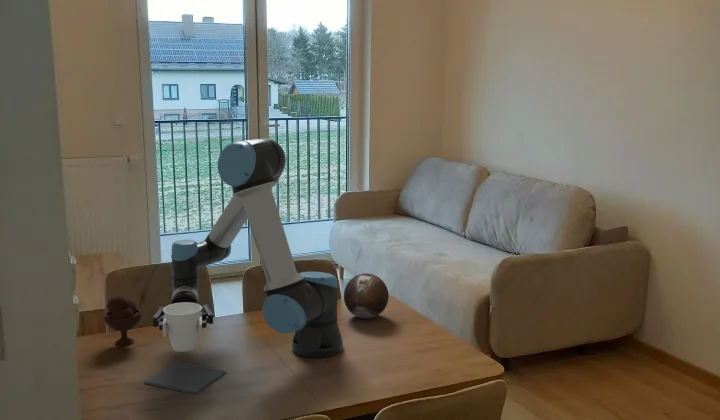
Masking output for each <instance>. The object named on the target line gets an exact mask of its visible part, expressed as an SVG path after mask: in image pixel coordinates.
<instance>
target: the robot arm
mask: <svg viewBox="0 0 720 420" xmlns="http://www.w3.org/2000/svg"><path fill="white" fill-rule="evenodd" d="M286 158H287V156H286V153H285V151H284V149H283V147H282V146H281V144H279V143H278V141H276V140H274V139H270V138H265V137H262V138H261V137H260V138H256V139H247V140H245V139H244V140H239V141H234V142H232V143H229V144H227V145H226V146H225V147H223V149H222V150H221V152H220V154H219V156H218V159H217V172H218V175H219V177H220V179H221V180H222V182H224V183H225V184H226V185H227V186H230V187H231V188H232V192H233V195H232V197H231V198H230V200H229V202H228V203H227V204H226V207H225V208H224V209H223V211H222V213H221V214H220V215H219V217H218V219H217V221H216V222H215V223H214V225H213V227H212V228H211V230H210V231H209V233H208V235H206V238H205V239H204V240H203V241H200V242H197V241H195V240H193V239H180V240H179V239H178V240H176V241H173V243H172V245H171V255H170V257H171V271H172V272H171V273H172V296H171V303H170V305H171V304H175V303H182V302H189V303H196V304H199V292H200V287H199V269H201V268H203V267H207V266H210V265H212V264H215V263H218V262H222V261H224V259H227V258H228V257H230V254H231V253H232V252H231V251H232V244H233V242H234V240H235V239H236V237H237V235H238V234H239V233H240V231H241V229H242V228H243V227H244V225H245V224H246V222H247V221H248V224H249V226H250V231H251V234H252V237H253V240H254V243H255V246H256V249H257V253H258V257H259V259H260V262H261V266H262V269H263V271H264V275H265V279H266V284H265V286H264V287H263V292H264V294H265V298H266V299H265V300H264V302H263V305H262V306H261V308H262V309H261V312H262V313H261V314H262V317H263V320H264V321H265V323H266V325H267V326H268V327H269V328H270V329H272V330H273V331H275V332H276V333H279V334H282V335H289V334H293V337H292V340H291V350H292V352H293V353H295V355H298V356H301V357H306V358H314V359H319V358H328V357H333V356H335V355H337V354H340V353H341V352H342V351H343V350H344V349H343V348H344V346H343V345H344V341H343V337H342V335H341V330H340V328H339V325H338V288H339V287H338V279H337V277H336V275H334V274H332V273H329V272H323V271H302V272H300V273H299V272H298V271H297V268H296V264H295V261H294V258H293V254H292V252H291V248H290V246H289V241H288V238H287V236H286V232H285V228H284V225H283V223H282V219H281V215H280V213H279V209H278V206H277V203H276V199H275V196H274V194H273V188H274V187H275V185H276V184H277V182H279V179H280V178H281V176H282V174H283V173H284V170H285V168H286V163H287V162H286V160H287V159H286ZM165 307H166V306H165ZM165 307H164V306H163V305H159V306H158V310H157V311H156V313H155V314H154V315H153V316H152V327H153V328H157V327H158V330H159V331H162V338H166V337H167V333H168V327H167V323H166V318H165V314H164V312H163V309H164V308H165ZM201 307H202V309H201V313H200V319H199V325H198V335H199V336H202V335H203V328H204V329H205V328H207V324H209V325H213V324H214V314H213V312H212V311H211V309H210V304H209V303H205V304H204V305H202V306H201Z"/></svg>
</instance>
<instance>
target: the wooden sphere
mask: <svg viewBox="0 0 720 420" xmlns="http://www.w3.org/2000/svg"><path fill="white" fill-rule="evenodd" d="M389 295H390V294H389V290H388V287H387V284H386V283H385V282H384V280H382V279H381V278H380V277H379V276H377V275H376V274H375V275H374V274H372V273H361V274H357V275H355V276H354V277H352V278H351V279H350V280H349V281H348V282H347V284H346V286H345V288H344V291H343V302H344V305H345V306H346V308H347V310H348V311H349V313H351V314H352V315H354V316H355V317H357V318H359V319H365V320H368V319H374V318H376V317H378V316H379V315H381V314H382V313H383V311H384V310H385V309H386V308H387V305H388V303H389V298H390V297H389Z"/></svg>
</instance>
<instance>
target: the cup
mask: <svg viewBox="0 0 720 420" xmlns="http://www.w3.org/2000/svg"><path fill="white" fill-rule="evenodd" d="M201 309H202V306H201V304H200V303H198V304H196V303H189V302H182V303H175V304H171V303H170V304H167V305H166V306H165V308H164V309H163V312H164V314H165V318H166V323H167V333H168V337H169V340H170V341H169V342H170V346H171V348H172V350H174V351H176V352H179V353H181V352H190V351H192V350H193V349H194V348H196V345H197V337H198V333H199V319H200V313H201Z"/></svg>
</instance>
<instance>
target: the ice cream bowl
mask: <svg viewBox="0 0 720 420" xmlns="http://www.w3.org/2000/svg"><path fill="white" fill-rule="evenodd" d="M106 307H107V311H105V312H103V319H104V323H105V324H106V325H107V326H108V327H109V328H111V329H113V330H115V331H118V332H120V338H118V339H117V340H116V341H115V343H114V345H115V346H117V347H127V346H131V345H133V344H134V343H135V341H134V339H133V338H131V337H128V331H129V330H131V329H133V328H134V327H135V326H137V325H138V323H140V321H141V318H142V309H140V308H137V303H135V302H134V301H133V300H131V299H129V298H127V297H125V296H124V295H116V296H113V297H111V298H110V299H109V300H108V301H107V305H106Z"/></svg>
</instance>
